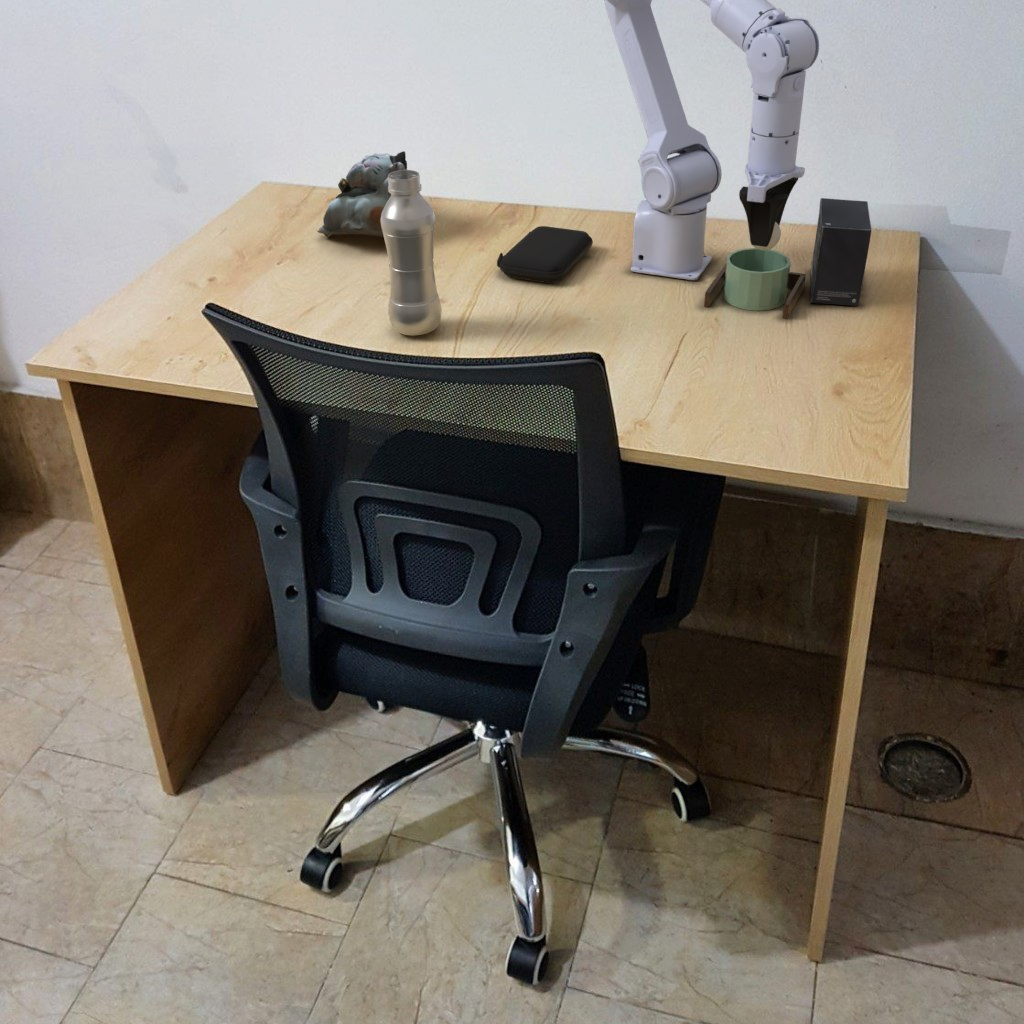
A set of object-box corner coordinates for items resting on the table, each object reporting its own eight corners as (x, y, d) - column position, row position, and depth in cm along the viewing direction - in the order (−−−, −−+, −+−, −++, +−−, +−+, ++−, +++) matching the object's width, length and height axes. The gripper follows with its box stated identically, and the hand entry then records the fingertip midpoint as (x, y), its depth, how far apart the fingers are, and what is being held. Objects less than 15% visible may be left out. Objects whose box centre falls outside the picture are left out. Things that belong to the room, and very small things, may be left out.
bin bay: (704, 306, 147) (705, 292, 145) (724, 276, 154) (725, 262, 153) (787, 319, 143) (789, 304, 142) (804, 287, 150) (806, 273, 149)
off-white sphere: (743, 252, 143) (746, 222, 141) (751, 241, 146) (754, 211, 144) (774, 257, 142) (778, 226, 139) (782, 245, 145) (785, 215, 142)
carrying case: (528, 239, 167) (487, 278, 156) (528, 219, 165) (486, 257, 154) (596, 248, 163) (559, 289, 152) (596, 228, 162) (559, 267, 151)
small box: (861, 307, 145) (874, 229, 139) (809, 304, 146) (819, 226, 140) (858, 274, 153) (869, 198, 147) (808, 271, 154) (818, 196, 148)
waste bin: (716, 305, 147) (719, 268, 144) (732, 281, 153) (735, 244, 150) (778, 314, 144) (782, 276, 141) (791, 289, 150) (796, 252, 147)
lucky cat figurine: (306, 233, 172) (320, 139, 170) (378, 248, 178) (392, 158, 176) (343, 234, 159) (359, 133, 157) (419, 251, 165) (435, 154, 163)
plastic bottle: (390, 320, 146) (374, 167, 135) (442, 317, 147) (431, 164, 135) (390, 343, 141) (373, 185, 129) (444, 339, 141) (432, 182, 130)
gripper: (794, 152, 128) (782, 264, 136) (820, 116, 139) (807, 222, 147) (733, 145, 131) (725, 256, 139) (763, 111, 142) (754, 215, 149)
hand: (763, 238), depth 143 cm, fingers closed on off-white sphere, 4 cm apart
